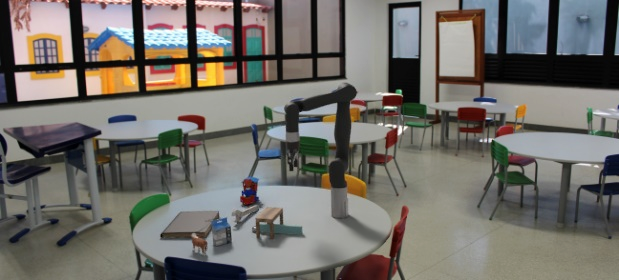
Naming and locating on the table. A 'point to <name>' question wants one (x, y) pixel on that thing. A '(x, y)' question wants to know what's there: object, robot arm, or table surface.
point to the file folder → (190, 224)
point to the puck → (254, 229)
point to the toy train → (249, 190)
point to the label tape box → (221, 232)
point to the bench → (268, 219)
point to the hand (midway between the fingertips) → (293, 169)
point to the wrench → (243, 213)
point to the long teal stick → (281, 228)
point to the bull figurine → (199, 243)
